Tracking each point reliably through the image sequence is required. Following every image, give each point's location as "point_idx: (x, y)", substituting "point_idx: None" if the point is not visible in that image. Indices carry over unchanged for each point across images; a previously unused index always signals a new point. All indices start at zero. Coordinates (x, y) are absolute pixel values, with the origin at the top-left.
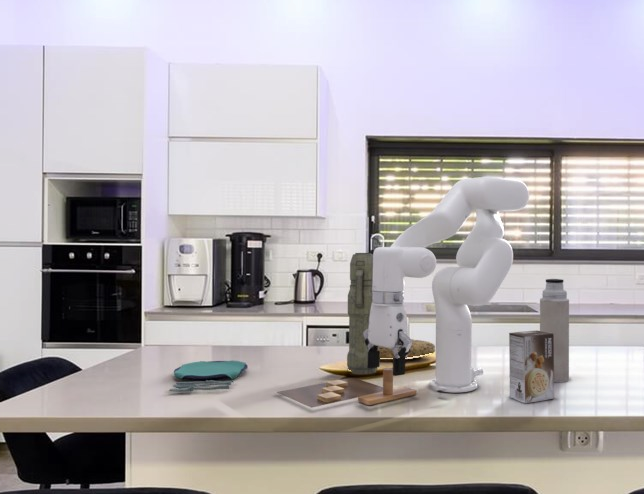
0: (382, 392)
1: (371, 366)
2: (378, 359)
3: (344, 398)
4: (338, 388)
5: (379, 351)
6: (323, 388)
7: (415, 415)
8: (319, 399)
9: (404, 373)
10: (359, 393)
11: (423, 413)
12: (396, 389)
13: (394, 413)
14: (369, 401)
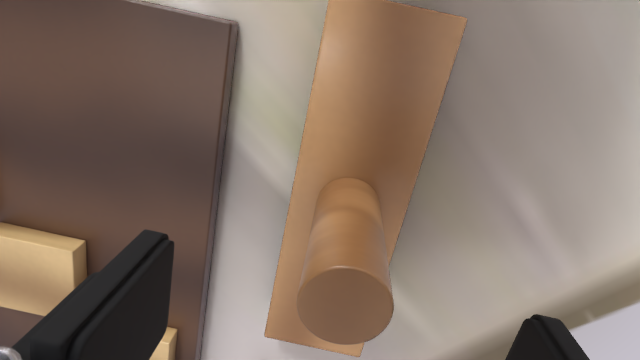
0: (306, 209)
1: (163, 323)
2: (138, 292)
3: (175, 310)
4: (50, 267)
5: (67, 338)
6: (4, 306)
7: (594, 267)
8: None
9: (556, 321)
10: (155, 209)
11: (621, 222)
12: (333, 103)
13: (483, 294)
14: (360, 353)
